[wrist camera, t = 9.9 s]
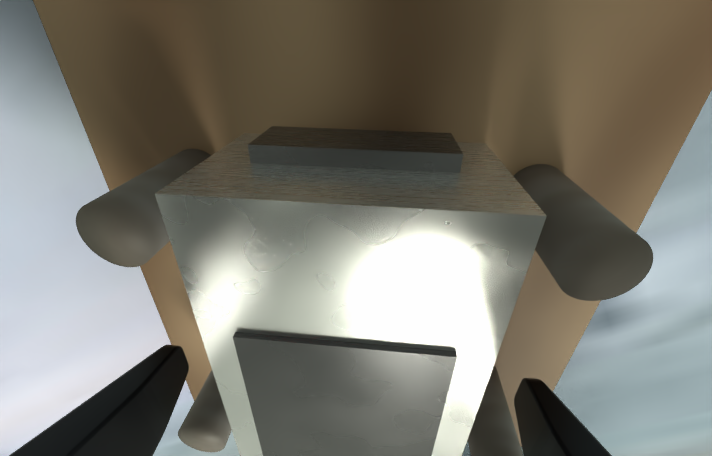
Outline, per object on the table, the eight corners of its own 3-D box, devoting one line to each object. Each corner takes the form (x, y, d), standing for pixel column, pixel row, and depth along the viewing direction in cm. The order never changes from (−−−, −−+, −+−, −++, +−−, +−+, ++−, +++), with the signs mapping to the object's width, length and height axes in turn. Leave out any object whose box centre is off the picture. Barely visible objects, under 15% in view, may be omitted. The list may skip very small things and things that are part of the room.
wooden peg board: (724, -28, 7) (1124, -102, 3) (515, 421, 17) (554, 546, 13) (62, -29, 9) (-228, -82, 5) (210, 390, 18) (156, 495, 14)
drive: (489, 127, 8) (560, 196, 5) (430, 395, 14) (442, 515, 11) (242, 118, 9) (142, 174, 5) (283, 380, 15) (248, 491, 11)
